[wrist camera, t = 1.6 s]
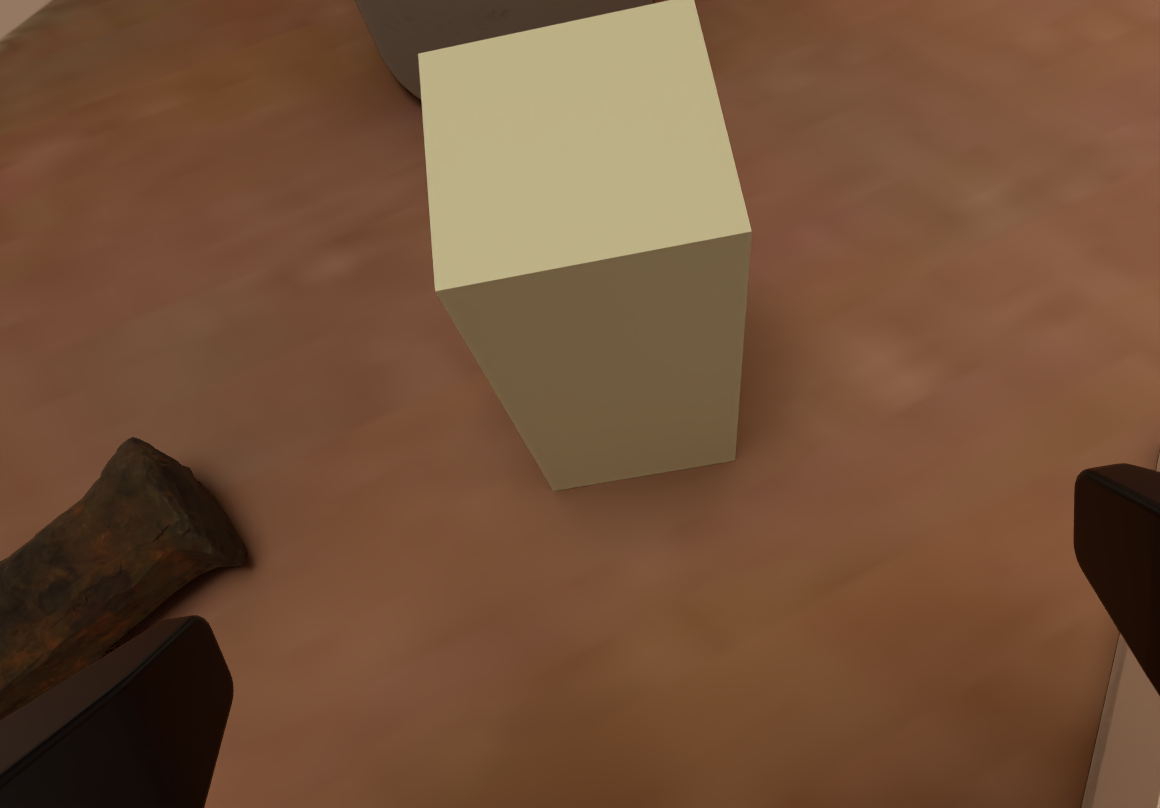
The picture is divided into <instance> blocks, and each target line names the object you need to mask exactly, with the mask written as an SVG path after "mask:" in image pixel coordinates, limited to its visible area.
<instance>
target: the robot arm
mask: <svg viewBox="0 0 1160 808" xmlns="http://www.w3.org/2000/svg"><path fill="white" fill-rule="evenodd" d="M1074 550H1075V554H1076V558H1077V561H1078V563H1079V566H1080V567H1081V569H1082V571H1083V573H1084V574H1085V576H1086V578H1087V579H1088V581H1089V583H1090V584H1091V586H1092V587H1093V589H1094V591H1095V592H1096V594H1097V596H1098V597H1099V599H1100V601H1101V602H1102V604H1103V606H1104V607H1105V609H1106V610H1107V612H1108V614H1109V615H1110V617H1111V619H1112V620H1113V622H1114V624H1115V625H1116V627H1117V629H1118V630H1119V632H1120V633H1121V635H1122V637H1123V638H1124V640H1125V642H1126V643H1127V645H1128V647H1129V648H1130V650H1131V651H1132V653H1133V655H1134V656H1135V658H1136V660H1137V661H1138V663H1139V665H1140V666H1141V668H1142V670H1143V671H1144V673H1145V674H1146V676H1147V678H1148V679H1149V681H1150V682H1151V684H1152V685H1153V687H1154V688H1155V690H1156V691H1157V693H1158V694H1159V696H1160V472H1159V471H1155V470H1151V469H1147V468H1143V467H1139V466H1135V465H1131V464H1125V463H1122V464H1113V465H1107V466H1101V467H1095V468H1089V469H1086V470H1083V471H1082V472H1081V473H1080V474H1079V475H1078V476H1077V479H1076V482H1075V492H1074ZM233 691H234V690H233V681H232V677H231V673H230V671H229V669H228V666H227V664H226V662H225V659H224V657H223V655H222V652H221V650H220V648H219V645H218V643H217V640H216V638H215V636H214V633H213V631H212V629H211V627H210V625H209V623H208V622H207V621H206V620H205V619H204V618H202V617H200V616H198V615H194V616H186V617H180V618H174V619H168V620H164V621H161V622H159V623H157V624H156V625H154V626H152V627H151V628H149V629H147V630H146V631H144V632H143V633H141V634H139V635H138V636H136V637H135V638H133V639H131V640H130V641H128V642H127V643H125V644H123V645H122V646H120V647H118V648H117V649H115V650H114V651H112V652H110V653H109V654H107V655H106V656H104V657H102V658H101V659H99V660H98V661H96V662H94V663H93V664H91V665H89V666H88V667H86V668H85V669H83V670H81V671H80V672H78V673H77V674H75V675H73V676H72V677H70V678H69V679H67V680H65V681H64V682H62V683H61V684H59V685H57V686H56V687H54V688H52V689H51V690H49V691H48V692H46V693H44V694H43V695H41V696H40V697H38V698H36V699H35V700H33V701H32V702H30V703H28V704H27V705H25V706H23V707H22V708H20V709H19V710H17V711H15V712H14V713H12V714H11V715H9V716H7V717H6V718H4V719H3V720H1V721H0V808H204V807H205V803H206V799H207V795H208V791H209V788H210V784H211V780H212V776H213V773H214V769H215V765H216V761H217V757H218V754H219V750H220V746H221V742H222V739H223V735H224V731H225V727H226V723H227V720H228V716H229V712H230V708H231V705H232V700H233Z"/></svg>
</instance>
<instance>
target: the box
mask: <svg viewBox="0 0 1160 808" xmlns="http://www.w3.org/2000/svg"><path fill="white" fill-rule="evenodd" d="M1156 471H1159V472H1160V454H1159V458H1158V463H1157V468H1156ZM1081 808H1160V696H1159V694H1158V693H1157V691H1156V690H1155V688H1154V687H1153V685H1152V684H1151V682H1150V681H1149V679H1148V678H1147V676H1146V674H1145V673H1144V671H1143V670H1142V668H1141V666H1140V665H1139V663H1138V661H1137V660H1136V658H1135V656H1134V655H1133V653H1132V651H1131V650H1130V648H1129V647H1128V645H1127V643H1126V642H1125V640H1124V638H1123V637H1122V635H1121V633H1120V635H1119V640H1118V644H1117V649H1116V653H1115V658H1114V662H1113V667H1112V671H1111V676H1110V680H1109V685H1108V689H1107V694H1106V699H1105V703H1104V708H1103V712H1102V717H1101V721H1100V726H1099V730H1098V735H1097V739H1096V744H1095V748H1094V753H1093V757H1092V762H1091V766H1090V771H1089V776H1088V780H1087V785H1086V789H1085V794H1084V798H1083V803H1082V807H1081Z"/></svg>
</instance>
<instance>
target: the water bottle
mask: <svg viewBox="0 0 1160 808" xmlns="http://www.w3.org/2000/svg"><path fill="white" fill-rule="evenodd" d="M355 1H356V3H357V6H358V8H359V10H360V12H361V14H362V16H363V18H364V20H365V23H366V25H367V27H368V29H369V31H370V33H371V35H372V37H373V40H374V42H375V44H376V46H377V48H378V50H379V52H380V54H381V57H382V59H383V61H384V62H385V64H386V65H387V66H388V68H389V69H390V71H391V72H392V74H393V75H394V76H395V78H396V79H397V80H398V81H399V82H400V83H401V84H402V85H403V86H404V87H405V88H406V89H408V90H409V91H410V92H411V93H412V94H413V95H415V96H416V97H417V98H419V99H421V87H420V73H419V59H418V54H419V53H424V52H429V51H433V50H438V49H443V48H447V47H452V46H457V45H462V44H466V43H471V42H476V41H480V40H485V39H490V38H495V37H499V36H504V35H509V34H513V33H518V32H523V31H527V30H532V29H537V28H542V27H546V26H551V25H556V24H560V23H565V22H570V21H575V20H579V19H584V18H589V17H593V16H598V15H603V14H608V13H612V12H617V11H622V10H626V9H631V8H636V7H641V6H645V5H650V4H653V0H355Z"/></svg>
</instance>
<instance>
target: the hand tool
mask: <svg viewBox="0 0 1160 808" xmlns="http://www.w3.org/2000/svg"><path fill="white" fill-rule="evenodd" d="M246 554H247V550H246V548H245V546H244V544H243V543H242V541H241V540H240V538H239V537H238V536H237V534H236V532H235V531H234V529H233V527H232V524H231V522H230V520H229V518H228V516H227V515H226V514H225V512H224V511H223V509H222V508H221V506H220V505H219V504H218V502H217V501H216V500H215V499H214V498H213V496H212V495H211V494H210V493H209V492H208V491H207V490H206V489H205V487H204V486H203V485H202V484H201V483H200V482H198V481H197V480H196V479H195V478H194V476H193V474H192V471H191V470H190V468H188V467H185V466H182V465H181V464H180V463H179V462H178V461H176V460H175V459H173V458H171V457H169V456H168V455H166V454H164V453H162V452H160V451H159V450H157V449H155V448H154V447H153V446H151V445H150V444H149V443H146V442H144V441H142V440H140V439H137V438H134V437H132V438H130V439H128V440H126V441H125V442H124V443H123V444H121V445H120V447H119V448H118V449H117V452H116V453H115V454H114V456H113V457H112V458H111V459H110V460H109V461H108V463H107V465H106V466H105V468H104V469H103V471H102V473H101V477H100V478H99V479H98V480H97V481H96V482H95V483H94V484H93V485H92V487H91V488H90V489H89V490H88V492H87V493H86V494H85V496H84V497H83V498H82V499H81V500H80V501H78V502H77V503H76V504H74V505H73V506H72V507H71V508H69V509H68V510H67V511H65V512H64V513H62V514H61V515H60V516H58V517H57V518H56V519H55V520H53V521H52V522H51V523H50V524H49V525H47V526H46V527H45V528H44V529H42V530H41V531H40V532H38V533H37V534H36V535H35V536H34V538H32V539H31V540H30V541H29V542H27V543H26V544H25V545H23V546H22V547H21V548H19V549H18V550H17V551H16V552H14V553H13V554H12V555H11V556H9V557H8V558H7V559H4V560H2V561H0V721H1V720H3V719H4V718H6V717H7V716H9V715H11V714H12V713H14V712H15V711H17V710H19V709H20V708H22V707H23V706H25V705H27V704H28V703H30V702H32V701H33V700H35V699H36V698H38V697H40V696H41V695H43V694H44V693H46V692H48V691H49V690H51V689H52V688H54V687H56V686H57V685H59V684H61V683H62V682H64V681H65V680H67V679H69V678H70V677H72V676H73V675H75V674H77V673H78V672H80V671H81V670H83V669H85V668H86V667H88V666H89V665H91V664H93V663H94V662H96V661H98V660H99V659H100V658H101V657H102V656H103V655H104V653H105V652H106V651H107V650H108V649H109V647H110V646H112V645H113V644H114V643H115V642H117V641H118V640H119V639H120V638H122V637H123V636H124V635H125V634H126V633H127V632H128V631H129V630H130V629H132V628H133V627H135V626H137V625H138V624H139V623H140V622H141V621H142V620H144V619H145V618H146V617H147V616H148V615H149V614H150V613H152V612H153V611H154V610H155V609H156V608H157V607H159V606H160V605H161V604H162V603H163V602H164V601H166V600H167V599H168V598H169V597H170V596H172V595H173V594H174V593H175V592H176V591H178V590H179V589H180V588H182V587H183V586H184V585H186V584H187V583H189V582H190V581H191V580H193V579H194V578H196V577H197V576H199V575H201V574H203V573H205V572H208V571H210V570H212V569H215V568H218V567H239V566H242V565H243V563H244V561H245V557H246Z"/></svg>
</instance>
